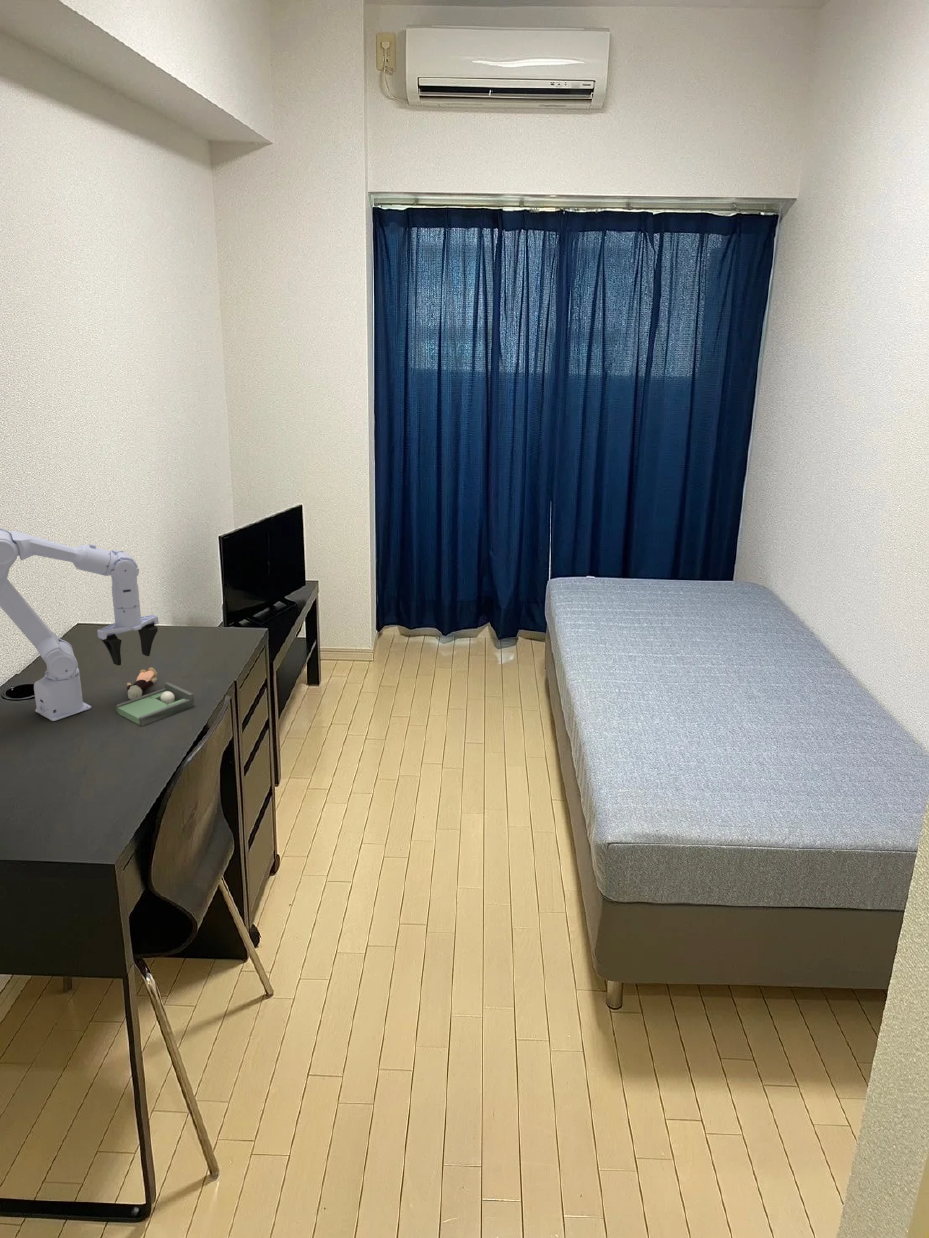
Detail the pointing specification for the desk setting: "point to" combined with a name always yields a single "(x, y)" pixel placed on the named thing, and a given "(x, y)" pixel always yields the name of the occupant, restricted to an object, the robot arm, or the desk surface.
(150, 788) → the desk surface
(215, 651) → the desk surface
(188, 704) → the green walled tray
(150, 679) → the grandmother figurine
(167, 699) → the ball
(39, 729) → the desk surface
